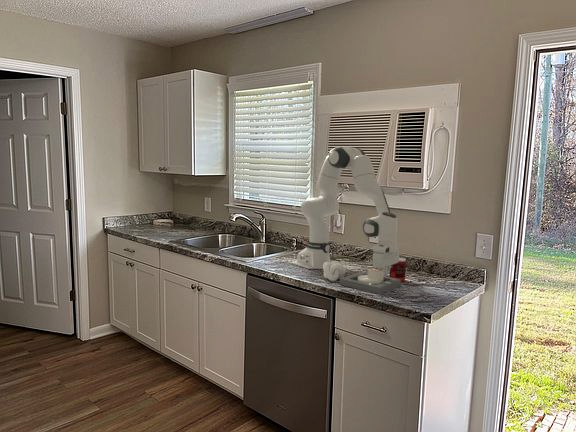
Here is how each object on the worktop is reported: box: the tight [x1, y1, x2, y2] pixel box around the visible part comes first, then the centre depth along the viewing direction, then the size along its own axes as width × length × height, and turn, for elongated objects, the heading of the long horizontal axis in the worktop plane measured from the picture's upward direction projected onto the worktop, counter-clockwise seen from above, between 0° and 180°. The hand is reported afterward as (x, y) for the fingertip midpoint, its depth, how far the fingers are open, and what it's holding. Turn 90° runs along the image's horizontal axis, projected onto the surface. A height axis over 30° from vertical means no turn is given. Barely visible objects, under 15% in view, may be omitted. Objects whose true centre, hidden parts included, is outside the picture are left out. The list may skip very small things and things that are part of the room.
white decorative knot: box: [322, 260, 347, 282], centre depth 224 cm, size 11×12×9 cm
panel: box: [338, 271, 402, 295], centre depth 216 cm, size 22×20×3 cm
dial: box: [358, 268, 385, 285], centre depth 215 cm, size 12×12×6 cm
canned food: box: [388, 257, 407, 283], centre depth 226 cm, size 8×8×11 cm
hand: (385, 274), depth 216 cm, fingers closed
